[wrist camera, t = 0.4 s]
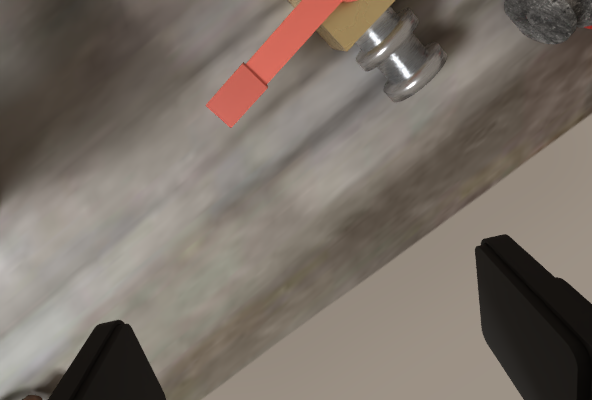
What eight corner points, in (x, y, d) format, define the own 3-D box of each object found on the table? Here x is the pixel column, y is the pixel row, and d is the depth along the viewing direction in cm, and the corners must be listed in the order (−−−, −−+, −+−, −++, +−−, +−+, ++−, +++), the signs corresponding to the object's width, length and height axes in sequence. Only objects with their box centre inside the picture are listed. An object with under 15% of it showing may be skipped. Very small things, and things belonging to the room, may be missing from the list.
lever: (240, 131, 32) (239, 135, 30) (200, 94, 31) (196, 97, 29) (388, -30, 28) (395, -34, 27) (349, -78, 27) (354, -85, 26)
